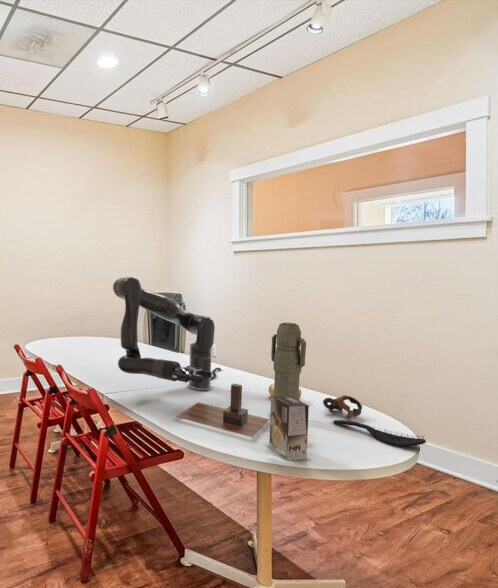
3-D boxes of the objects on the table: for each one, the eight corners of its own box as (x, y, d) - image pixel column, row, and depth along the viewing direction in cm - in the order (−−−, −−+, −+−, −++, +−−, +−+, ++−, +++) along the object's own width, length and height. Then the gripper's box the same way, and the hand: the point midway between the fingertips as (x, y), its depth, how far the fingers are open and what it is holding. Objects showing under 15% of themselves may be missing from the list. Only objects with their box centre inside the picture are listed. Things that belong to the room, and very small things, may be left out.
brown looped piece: (348, 411, 155) (360, 397, 150) (356, 430, 147) (368, 415, 142) (315, 401, 157) (326, 387, 152) (321, 419, 149) (333, 405, 145)
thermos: (296, 425, 140) (301, 326, 138) (263, 415, 150) (266, 322, 147) (308, 419, 145) (312, 324, 143) (275, 410, 155) (278, 320, 152)
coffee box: (308, 459, 115) (310, 405, 114) (287, 460, 115) (289, 406, 114) (287, 445, 124) (289, 395, 123) (267, 446, 124) (269, 395, 123)
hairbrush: (339, 412, 144) (430, 434, 123) (339, 422, 145) (430, 446, 123) (327, 417, 140) (419, 440, 119) (327, 427, 140) (419, 453, 119)
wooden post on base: (229, 416, 144) (231, 381, 144) (247, 420, 140) (248, 384, 140) (223, 422, 139) (224, 385, 138) (241, 426, 135) (242, 389, 134)
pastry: (270, 393, 175) (271, 373, 175) (302, 398, 169) (303, 377, 168) (266, 400, 166) (267, 379, 165) (299, 406, 159) (300, 384, 158)
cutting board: (197, 406, 159) (197, 402, 159) (269, 423, 142) (269, 419, 142) (175, 420, 144) (175, 416, 144) (252, 441, 127) (252, 437, 127)
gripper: (157, 363, 151) (199, 371, 140) (174, 357, 162) (214, 363, 151) (157, 383, 152) (199, 392, 141) (173, 375, 162) (213, 382, 152)
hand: (206, 377), depth 146 cm, fingers open, 8 cm apart
